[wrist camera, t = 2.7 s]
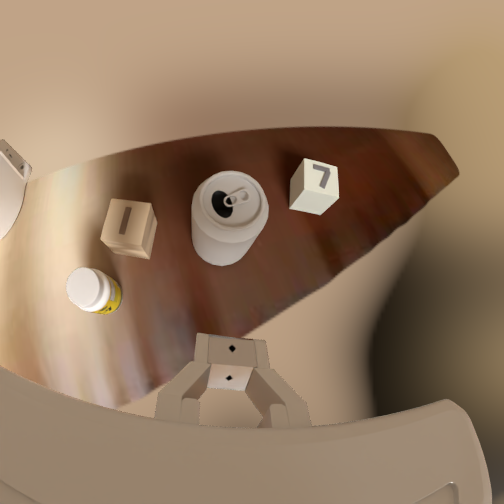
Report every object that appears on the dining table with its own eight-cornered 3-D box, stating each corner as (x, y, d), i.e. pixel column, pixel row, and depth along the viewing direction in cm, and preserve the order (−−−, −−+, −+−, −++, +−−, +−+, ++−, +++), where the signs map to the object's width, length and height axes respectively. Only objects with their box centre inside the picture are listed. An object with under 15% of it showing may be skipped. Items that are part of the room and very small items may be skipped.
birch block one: (114, 253, 32) (99, 238, 26) (123, 218, 34) (111, 197, 28) (149, 259, 33) (140, 245, 27) (157, 222, 34) (150, 202, 29)
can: (184, 221, 35) (182, 174, 24) (237, 206, 37) (255, 157, 26) (202, 275, 34) (206, 248, 23) (256, 256, 36) (285, 223, 25)
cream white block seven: (289, 208, 39) (304, 188, 33) (290, 179, 40) (304, 157, 35) (320, 215, 40) (339, 197, 34) (320, 186, 41) (337, 166, 35)
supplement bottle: (91, 315, 29) (62, 310, 21) (90, 278, 31) (62, 263, 23) (124, 314, 30) (103, 310, 23) (123, 277, 32) (102, 261, 24)
